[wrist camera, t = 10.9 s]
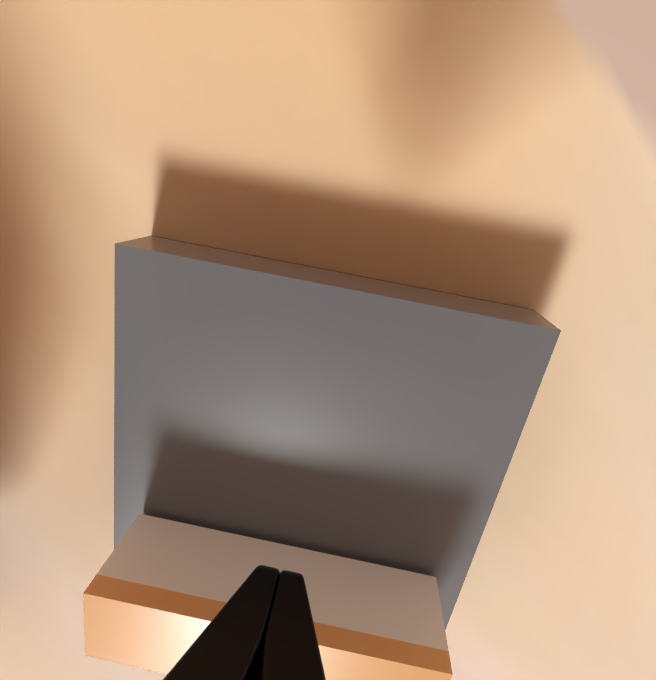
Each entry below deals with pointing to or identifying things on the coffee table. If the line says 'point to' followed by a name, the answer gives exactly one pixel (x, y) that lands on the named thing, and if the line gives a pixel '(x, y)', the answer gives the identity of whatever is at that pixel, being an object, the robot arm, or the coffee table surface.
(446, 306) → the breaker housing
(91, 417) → the coffee table surface
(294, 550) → the knob
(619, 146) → the coffee table surface
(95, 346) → the coffee table surface
